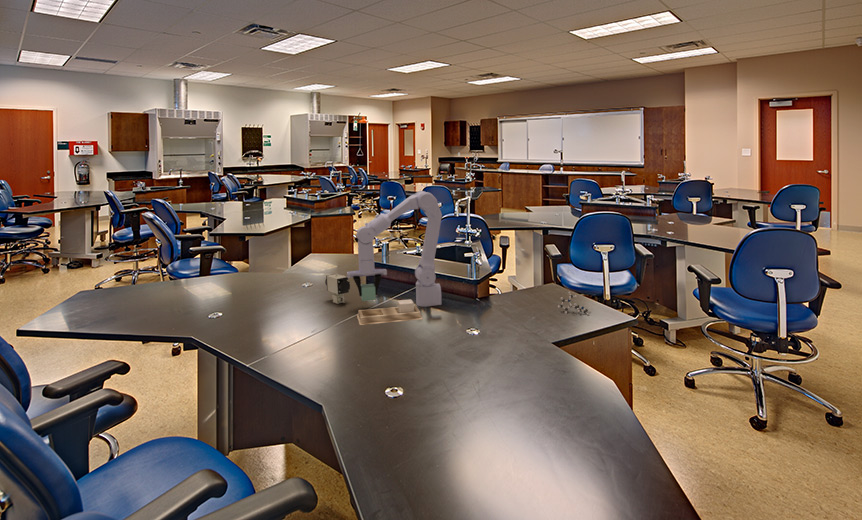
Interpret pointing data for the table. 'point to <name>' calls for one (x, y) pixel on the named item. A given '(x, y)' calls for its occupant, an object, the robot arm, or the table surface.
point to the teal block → (368, 292)
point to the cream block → (405, 306)
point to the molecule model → (572, 305)
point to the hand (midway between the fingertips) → (368, 294)
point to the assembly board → (386, 315)
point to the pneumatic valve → (337, 286)
